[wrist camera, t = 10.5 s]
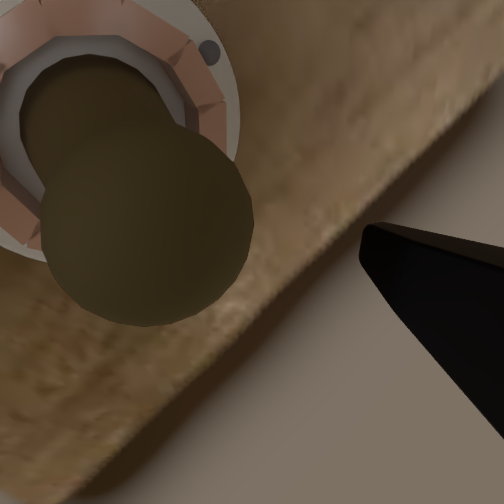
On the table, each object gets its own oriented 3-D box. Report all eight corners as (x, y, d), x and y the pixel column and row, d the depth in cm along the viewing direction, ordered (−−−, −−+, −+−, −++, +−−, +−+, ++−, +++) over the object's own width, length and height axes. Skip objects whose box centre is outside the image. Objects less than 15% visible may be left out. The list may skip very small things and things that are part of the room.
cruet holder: (233, -47, 18) (262, -52, 16) (234, 232, 24) (255, 255, 22) (-165, -69, 13) (-202, -80, 11) (-29, 284, 20) (-35, 321, 18)
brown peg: (152, 208, 21) (245, 361, 12) (9, 186, 18) (0, 371, 9) (185, 80, 19) (326, 158, 10) (29, 29, 16) (41, 80, 7)
